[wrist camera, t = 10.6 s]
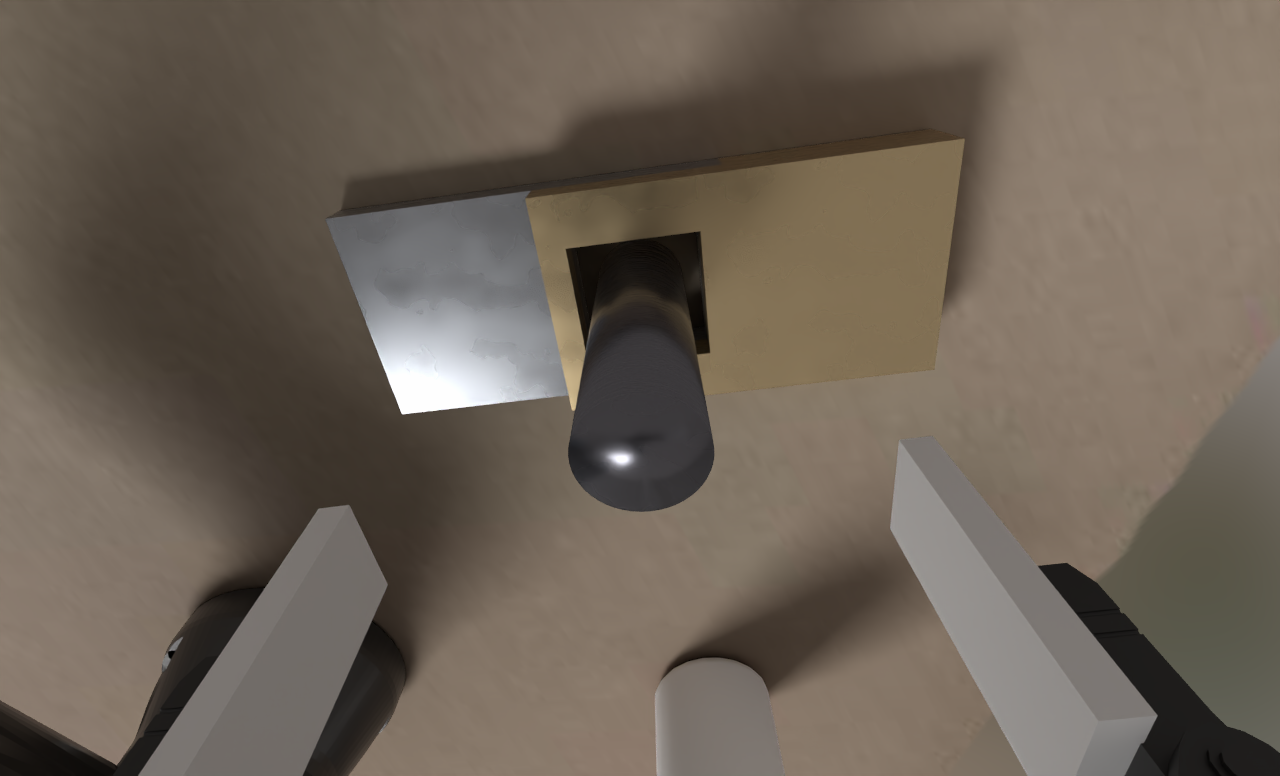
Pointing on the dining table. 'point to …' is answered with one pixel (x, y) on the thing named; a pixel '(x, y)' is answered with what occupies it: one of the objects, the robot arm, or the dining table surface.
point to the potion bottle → (715, 722)
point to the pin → (641, 387)
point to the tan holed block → (728, 264)
